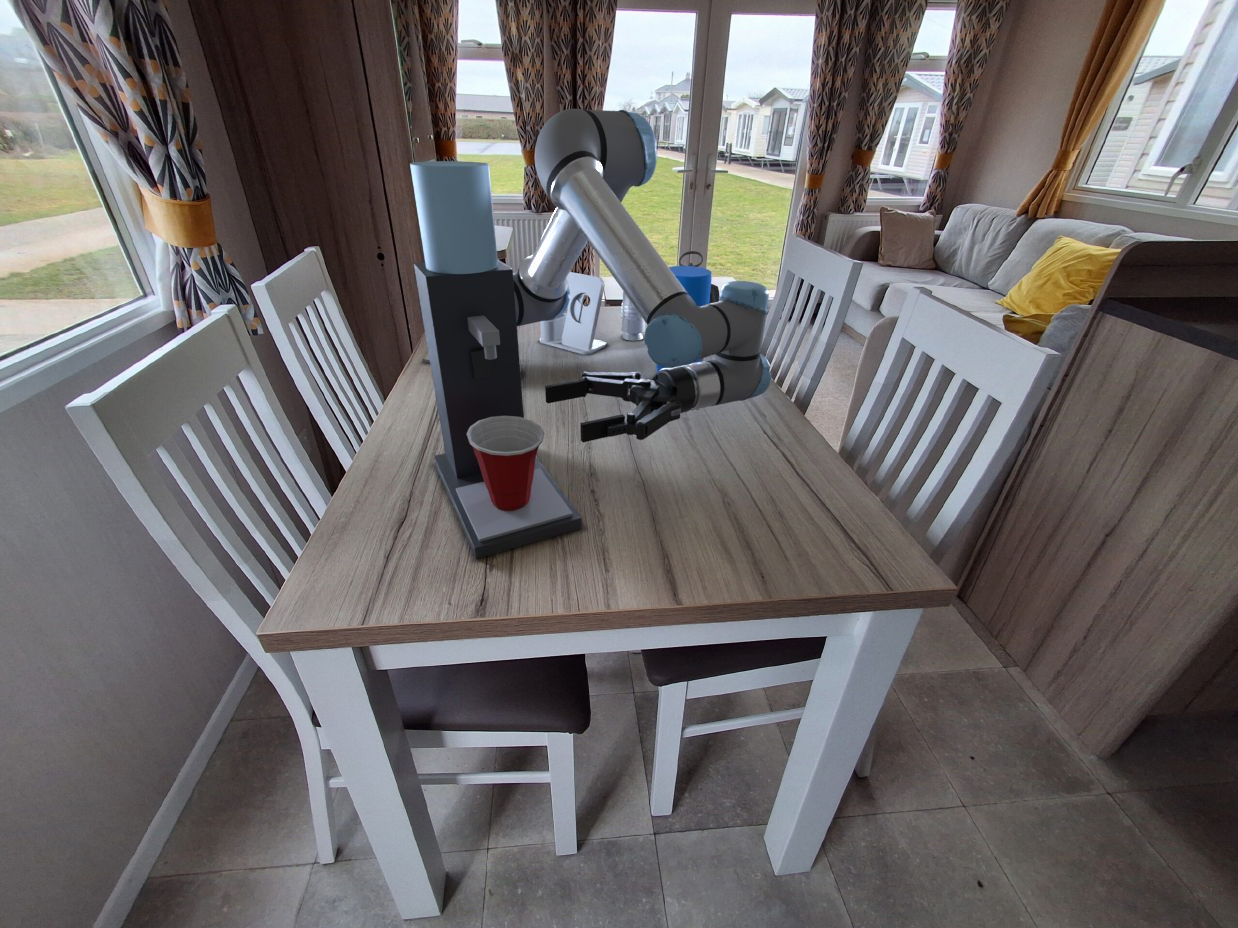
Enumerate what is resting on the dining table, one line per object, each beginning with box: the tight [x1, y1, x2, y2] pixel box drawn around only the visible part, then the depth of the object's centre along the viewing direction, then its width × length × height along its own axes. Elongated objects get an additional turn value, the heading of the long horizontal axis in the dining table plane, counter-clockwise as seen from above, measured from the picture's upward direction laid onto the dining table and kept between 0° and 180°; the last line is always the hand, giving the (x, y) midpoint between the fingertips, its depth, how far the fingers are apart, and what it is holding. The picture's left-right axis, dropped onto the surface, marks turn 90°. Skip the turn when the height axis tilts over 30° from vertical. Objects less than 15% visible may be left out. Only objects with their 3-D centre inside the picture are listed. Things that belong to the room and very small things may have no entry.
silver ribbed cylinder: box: [620, 290, 646, 342], centre depth 155 cm, size 7×7×15 cm
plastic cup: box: [467, 416, 545, 511], centre depth 82 cm, size 11×11×12 cm
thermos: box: [656, 265, 712, 373], centre depth 127 cm, size 11×11×25 cm
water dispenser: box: [409, 160, 583, 560], centre depth 79 cm, size 28×16×47 cm, turn 27°
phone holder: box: [539, 271, 607, 356], centre depth 149 cm, size 17×10×18 cm, turn 55°
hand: (562, 412), depth 82 cm, fingers open, 13 cm apart
